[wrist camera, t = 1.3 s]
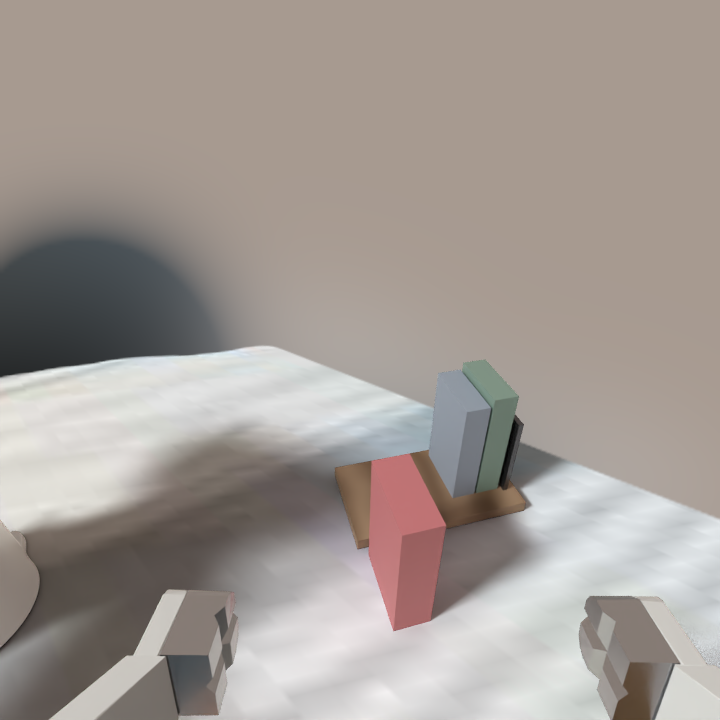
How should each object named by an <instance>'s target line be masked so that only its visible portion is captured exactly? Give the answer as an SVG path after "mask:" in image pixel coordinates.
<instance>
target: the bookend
mask: <svg viewBox="0 0 720 720" xmlns="http://www.w3.org/2000/svg"><path fill="white" fill-rule="evenodd" d="M523 426H524V424H523V423H522V422H521V421H520V420H519V418H518V417H517V416H516V415H514V419H513V424H512V428H511V432H510V436H509V440H508V445H507V449H506V453H505V457H504V461H503V466H502V470H501V474H500V478H499V482H498V484H499V485H500V487H501V488H502V490H507V489H508V485H509V481H510V477H511V473H512V469H513V465H514V461H515V457H516V453H517V449H518V446H519V442H520V437H521V434H522V430H523Z"/></svg>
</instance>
